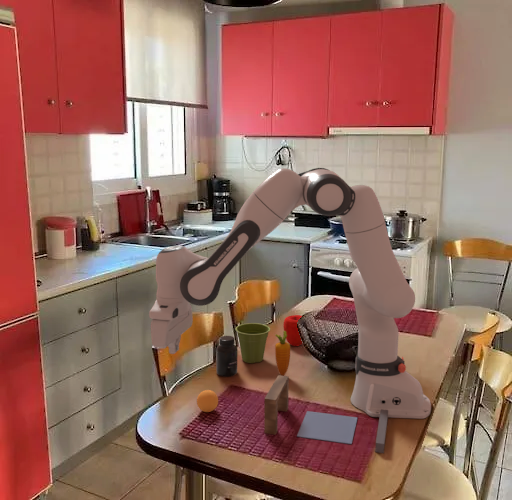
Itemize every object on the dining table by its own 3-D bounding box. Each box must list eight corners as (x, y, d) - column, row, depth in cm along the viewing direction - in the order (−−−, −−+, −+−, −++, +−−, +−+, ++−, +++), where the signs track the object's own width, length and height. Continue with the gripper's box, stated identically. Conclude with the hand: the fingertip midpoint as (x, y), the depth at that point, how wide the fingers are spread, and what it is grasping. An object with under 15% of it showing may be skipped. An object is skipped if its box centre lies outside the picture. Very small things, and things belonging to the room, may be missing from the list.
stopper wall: (387, 418, 159) (388, 410, 158) (383, 453, 142) (384, 443, 141) (380, 417, 159) (380, 409, 159) (375, 452, 142) (375, 442, 142)
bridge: (288, 408, 165) (288, 376, 163) (275, 434, 150) (275, 400, 148) (278, 407, 165) (278, 375, 163) (264, 433, 151) (264, 398, 149)
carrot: (279, 381, 182) (279, 335, 179) (271, 375, 187) (272, 330, 184) (293, 378, 185) (293, 333, 181) (285, 372, 189) (285, 328, 186)
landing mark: (357, 418, 159) (357, 417, 159) (351, 444, 146) (351, 443, 146) (307, 411, 163) (307, 410, 163) (296, 436, 149) (296, 435, 149)
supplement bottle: (234, 378, 185) (234, 342, 182) (214, 376, 186) (213, 341, 183) (239, 369, 191) (239, 335, 189) (219, 367, 192) (219, 333, 190)
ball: (221, 407, 165) (221, 387, 164) (214, 417, 160) (213, 397, 158) (201, 404, 167) (201, 385, 166) (193, 414, 161) (193, 394, 160)
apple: (291, 338, 219) (291, 310, 217) (311, 343, 214) (312, 315, 212) (278, 345, 212) (278, 317, 210) (299, 350, 207) (299, 321, 205)
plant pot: (270, 366, 193) (270, 334, 191) (234, 366, 194) (234, 334, 191) (270, 353, 205) (270, 322, 203) (236, 352, 205) (236, 322, 203)
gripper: (177, 293, 170) (178, 338, 173) (146, 314, 151) (147, 364, 154) (197, 295, 168) (198, 340, 171) (168, 316, 149) (169, 367, 152)
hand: (174, 352), depth 162 cm, fingers closed
